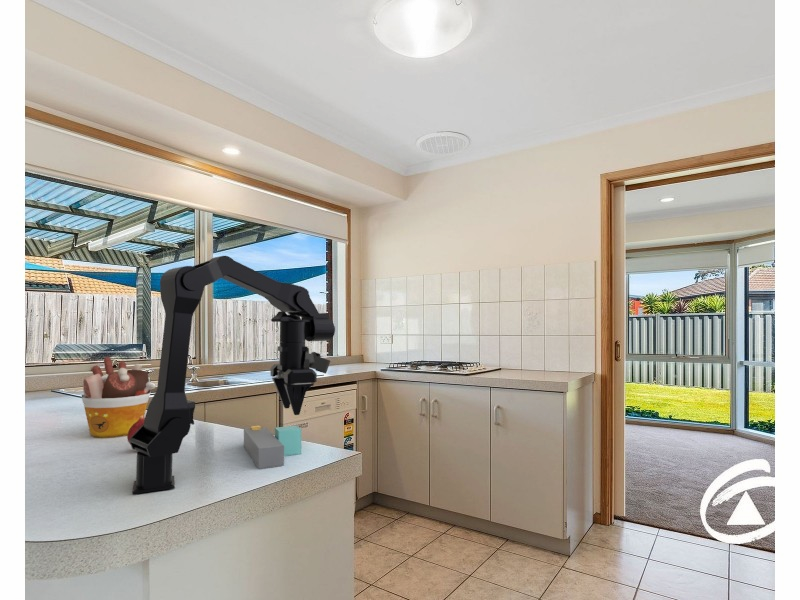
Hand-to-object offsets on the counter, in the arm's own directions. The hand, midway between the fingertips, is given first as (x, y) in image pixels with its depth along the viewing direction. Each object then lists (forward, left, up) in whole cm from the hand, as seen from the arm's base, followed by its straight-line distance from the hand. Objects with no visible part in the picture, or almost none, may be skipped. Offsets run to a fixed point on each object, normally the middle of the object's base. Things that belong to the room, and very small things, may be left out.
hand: (291, 411), depth 107 cm
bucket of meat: (+41, +37, -9) cm, 56 cm away
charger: (0, +2, -9) cm, 9 cm away
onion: (+17, +30, -9) cm, 36 cm away
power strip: (+3, +6, -9) cm, 12 cm away
